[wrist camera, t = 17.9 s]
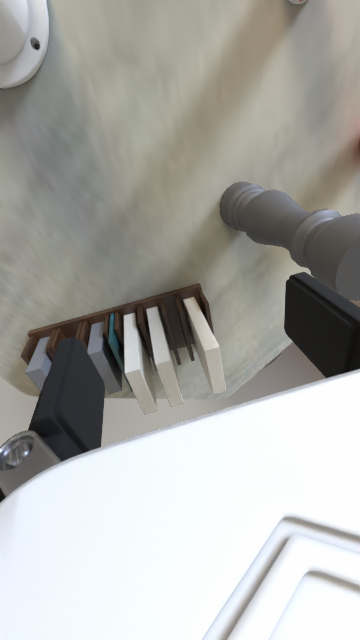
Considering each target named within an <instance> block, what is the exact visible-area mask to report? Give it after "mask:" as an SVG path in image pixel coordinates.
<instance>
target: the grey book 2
mask: <svg viewBox="0 0 360 640" xmlns="http://www.w3.org/2000/svg"><path fill="white" fill-rule="evenodd" d="M87 352H88V354H89V356H90V358H91V359H92V361H93V363H94V365H95V367H96V368H97V370H98V372H99V374H100V375H101V377H102V379H103V381H104V384H105V388H106V390H107V392H108V393H109V394H111V393H115V392H118V391H121V390H122V370H121V368H120V366H119V364H118V362H117V360H116V358H115V356H114V354H113V351H112V349H111V347H110V345H109V343H108V341H107V339H106V337H105V335H104V321H103V322H99V323H96V324H92V326H91V332H90V338H89V344H88V350H87Z"/></svg>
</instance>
